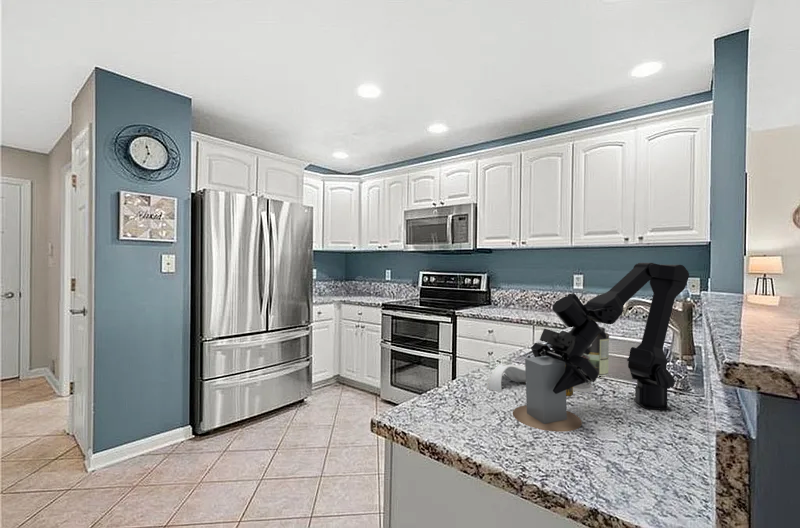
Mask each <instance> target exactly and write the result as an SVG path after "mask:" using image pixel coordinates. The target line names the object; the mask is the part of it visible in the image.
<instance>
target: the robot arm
mask: <svg viewBox="0 0 800 528" xmlns="http://www.w3.org/2000/svg"><path fill="white" fill-rule="evenodd" d="M689 277H690V272H689V271H688V269H687V268H686V266H684V265H683V264H663V263H662V264H660V263H659V264H658V263H654V262H638V263H636V264H634V266H633V268H632V269H631V270H630V271H628V273H627V274H626V275H625V276H624V277H622V278H620V280H619V281H618V282H617V283H615V284H614V285H613V286H612V287H611V288H610V289H609V290H608V291H606V292H604V293H602V294H598V295H596V296H594V297H593V298H591V299H589V300H588V301H587V302H586V303H585V304H583V303H582V302H581V300H580V299H579V297H578V296H577V294H576V293H568V294H567V295H566V296H563V297H562V298H560V299H558V300H556V301H555V302H554V303H553V305H552V311H553V312H554V314H556V315H557V317H558V318H559V319H560V320H561V322H563V324H564V325H565V326H566V327H568V328H571V329H570V331H569V332H568V331H565V330H561V331H560V332H557V331H554V330H552V329H547V328H543V329H542V332H541V334H540V335H541V336H540V338H539V341H540V342H535V343H533V345H532V346H531V347H530V350H531V351H532V355H534V357H540V356H549V357H552V358H555V359H558V360H561V361H563V362H565V365H566V366H565V372H564V374H563V375H562V377H561V378H560V380H559V381H558V383H557V384H556V385H555V387H554V389H553V392H554V393H555V394H557V393H560V392H562V391H564V390H567V389H569V388H571V387H574V386H577V385H580V384H583V383H588V382H589V381H591V383H594V382H595V381H596V380H597V379H598V378H599V377H598V370H597V369H596V368H595V367H594V366H593V365H592V363H591V362H590V361H589V360H588V359H587V358H584V357H582V356H583V354H587V355H588V354H589V353H590V351H589V350H588V348H589V347H590V345H591V344H592V343H593V341H594V340H595V339H596V338H597V337H599V338H603V339H606V333H607V332H606V331H605V330H606V328H605V327H601V326H600V325H599V323H600V324H605V325H613V324H614V323H616V322H617V321H618V319H619V318H620V317H621V315H622V314H623V312H624V306H625V304H626V303H627V302H628V301H629V300H630V299H631V298H632V297H634V296H635V295H636V294H637V293H638V292H639V291H640V290H641V289H642V288H643V287H644V286H645V285H647V284H648V283H649V285H650V288H651V290H652V291H651V292H652V293H653V295H652V298H651V303H650V306H649V310H648V315H647V319H646V323H645V327H644V330H643V335H642V340H641V342H640V344H638V345H637V347H635V346H632V347H631V348H630V349H629V350H630V351H629V355H628V358H627V359H626V360H627V362H628V364H627V368H628V370H629V371H630V376H631V379H632V380H636V382H637V383H636V386H635V387H634V388H635V389H634V390H635V391H634V395H635V396H634V398H633V400H634V402H636V403H637V404H639V405H640V407H643V409H647V410H665V411H671V410H672V408H671V407H670V406H669V405H668V389H671V388H673V387H674V386H675V385H674V384H675V382H676V378H675V377H674V376H673V375H672V374H671V372H670V371H669V370H668V369H667V365H668V359H667V356H666V354H665V351H664V347H665V346H664V345H665V342H666V337H667V334H668V329H669V325H670V320H671V316H672V311H673V309H674V304H675V300H676V298H677V297H678V296H679V295H680V294H681V293H682V292H683V291H684V290H685V289H686V286H687V283H688V281H689ZM541 342H545V343H547V344H548V345H550V346H548V345H547V344H544V343H541Z"/></svg>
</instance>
